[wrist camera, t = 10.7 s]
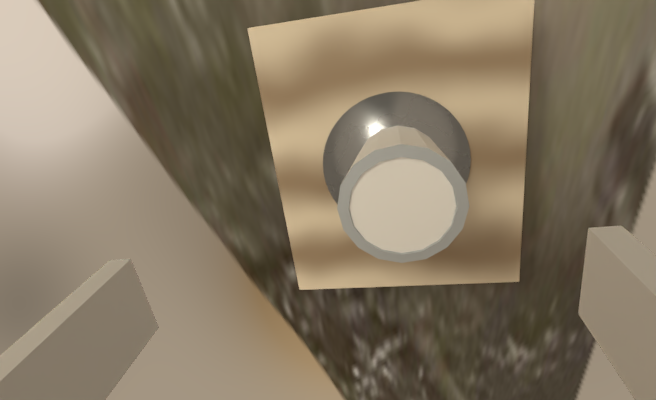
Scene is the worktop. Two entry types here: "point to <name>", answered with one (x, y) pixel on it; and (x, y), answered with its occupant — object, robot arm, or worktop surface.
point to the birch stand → (404, 110)
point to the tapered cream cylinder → (402, 197)
